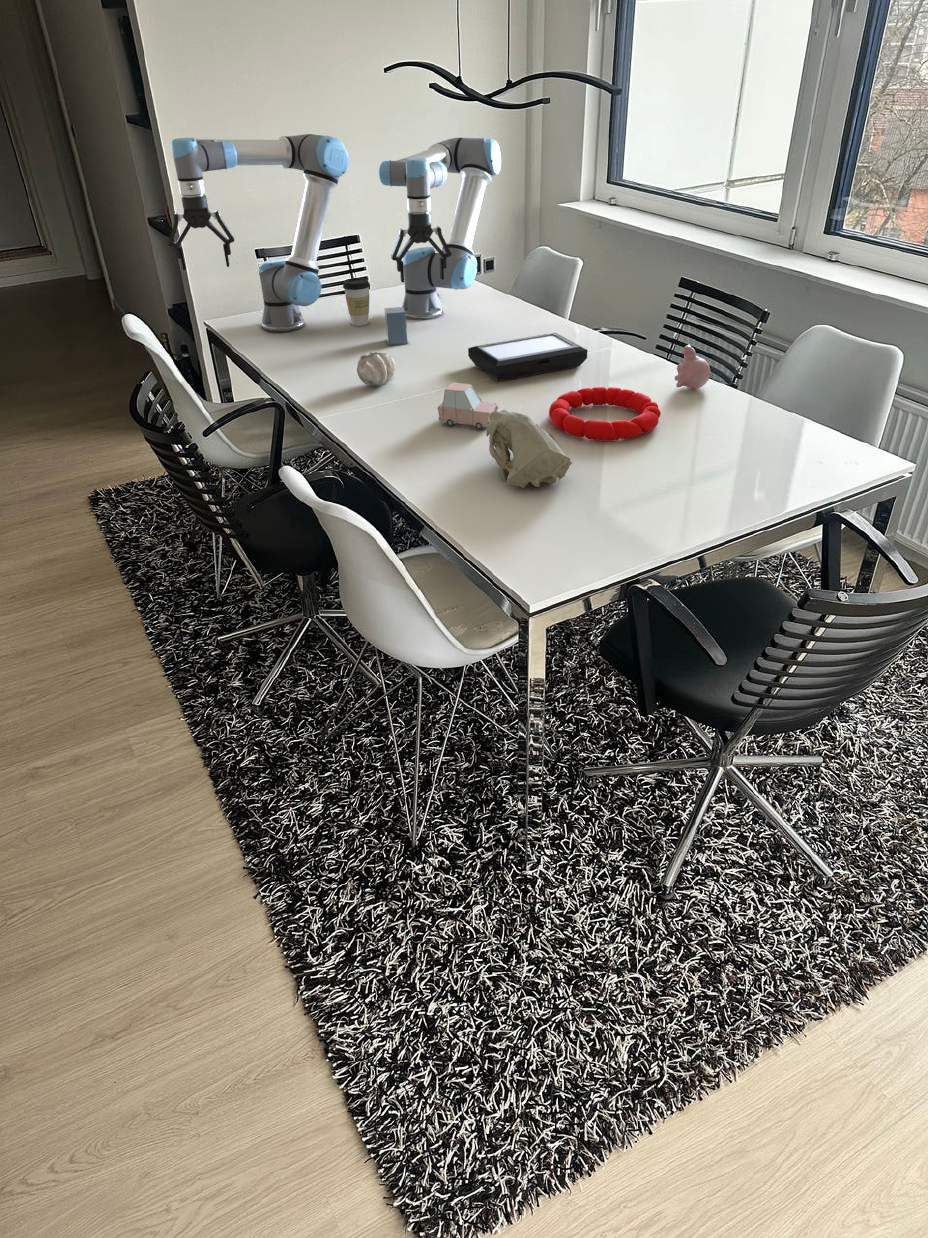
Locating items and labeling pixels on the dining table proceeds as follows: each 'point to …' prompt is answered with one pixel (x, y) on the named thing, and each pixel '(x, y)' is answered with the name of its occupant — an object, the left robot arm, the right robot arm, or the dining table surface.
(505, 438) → the animal skull
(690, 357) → the figurine
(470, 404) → the toy car
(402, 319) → the block
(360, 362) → the seashell
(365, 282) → the coffee cup
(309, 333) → the dining table surface
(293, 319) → the left robot arm
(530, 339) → the electronic device
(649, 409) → the decorative ring
